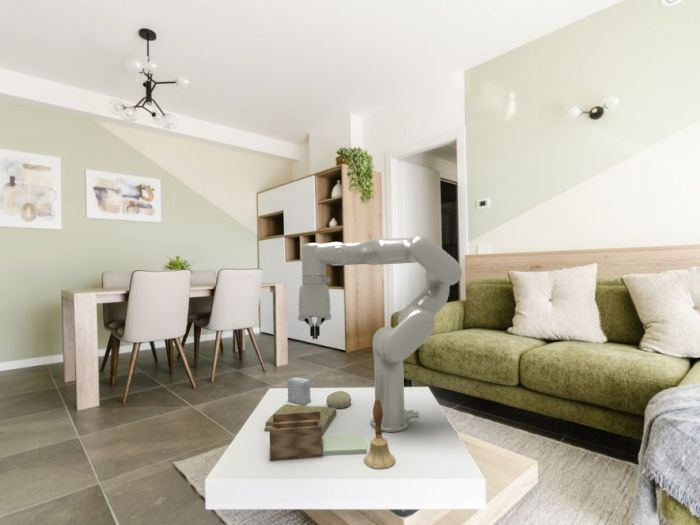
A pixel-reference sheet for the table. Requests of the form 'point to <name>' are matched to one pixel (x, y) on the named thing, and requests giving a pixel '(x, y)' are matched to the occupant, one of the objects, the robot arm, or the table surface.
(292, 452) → the box
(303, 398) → the medicine box
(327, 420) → the decorative tile
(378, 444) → the hand bell
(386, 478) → the table surface
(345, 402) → the sea urchin shell
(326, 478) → the table surface
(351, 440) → the cover plate
